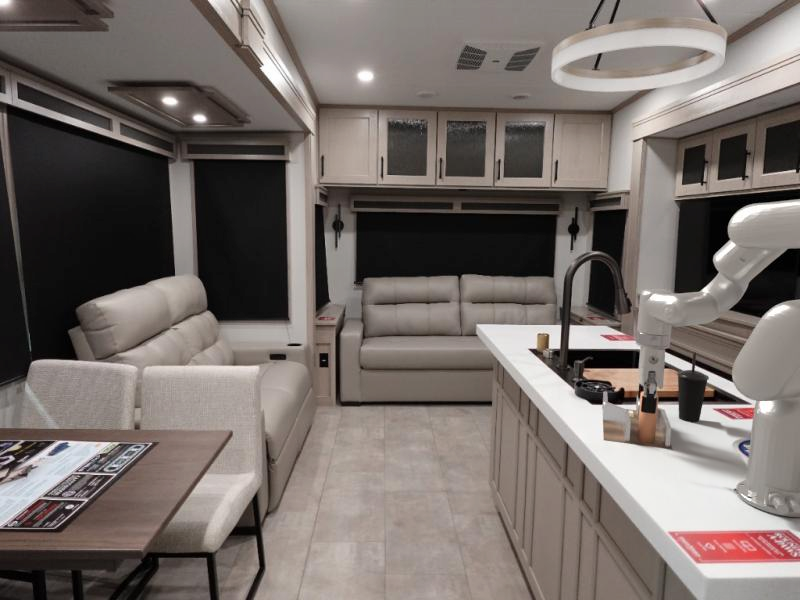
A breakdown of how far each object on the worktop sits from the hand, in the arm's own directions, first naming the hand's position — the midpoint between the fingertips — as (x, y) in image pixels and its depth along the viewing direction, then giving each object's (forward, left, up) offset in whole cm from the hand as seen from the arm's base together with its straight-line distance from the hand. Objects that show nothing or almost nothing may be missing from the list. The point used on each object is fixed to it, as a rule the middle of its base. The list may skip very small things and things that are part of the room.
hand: (646, 405), depth 130 cm
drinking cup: (+20, -13, -10) cm, 25 cm away
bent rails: (+9, +2, -10) cm, 13 cm away
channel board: (+9, +2, -10) cm, 13 cm away
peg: (0, 0, -9) cm, 9 cm away
